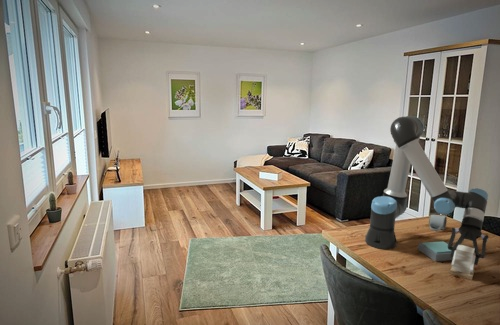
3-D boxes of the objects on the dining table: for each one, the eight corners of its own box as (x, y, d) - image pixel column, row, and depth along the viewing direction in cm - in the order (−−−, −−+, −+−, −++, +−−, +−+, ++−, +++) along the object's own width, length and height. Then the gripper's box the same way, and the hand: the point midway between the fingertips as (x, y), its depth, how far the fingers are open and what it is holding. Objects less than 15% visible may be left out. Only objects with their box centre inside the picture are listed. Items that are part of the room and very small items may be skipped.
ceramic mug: (430, 223, 196) (432, 211, 194) (446, 227, 191) (447, 215, 189) (425, 229, 188) (427, 216, 187) (442, 233, 183) (443, 220, 181)
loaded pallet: (449, 273, 140) (453, 249, 138) (452, 266, 146) (456, 242, 144) (471, 280, 135) (475, 254, 133) (474, 272, 141) (478, 248, 139)
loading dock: (435, 261, 150) (436, 253, 150) (417, 249, 162) (418, 242, 161) (461, 259, 153) (462, 251, 152) (442, 247, 165) (443, 240, 164)
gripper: (498, 229, 143) (489, 279, 134) (448, 219, 155) (436, 264, 146) (499, 221, 138) (490, 272, 129) (447, 211, 150) (435, 257, 141)
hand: (461, 268), depth 137 cm, fingers closed on loaded pallet, 6 cm apart
